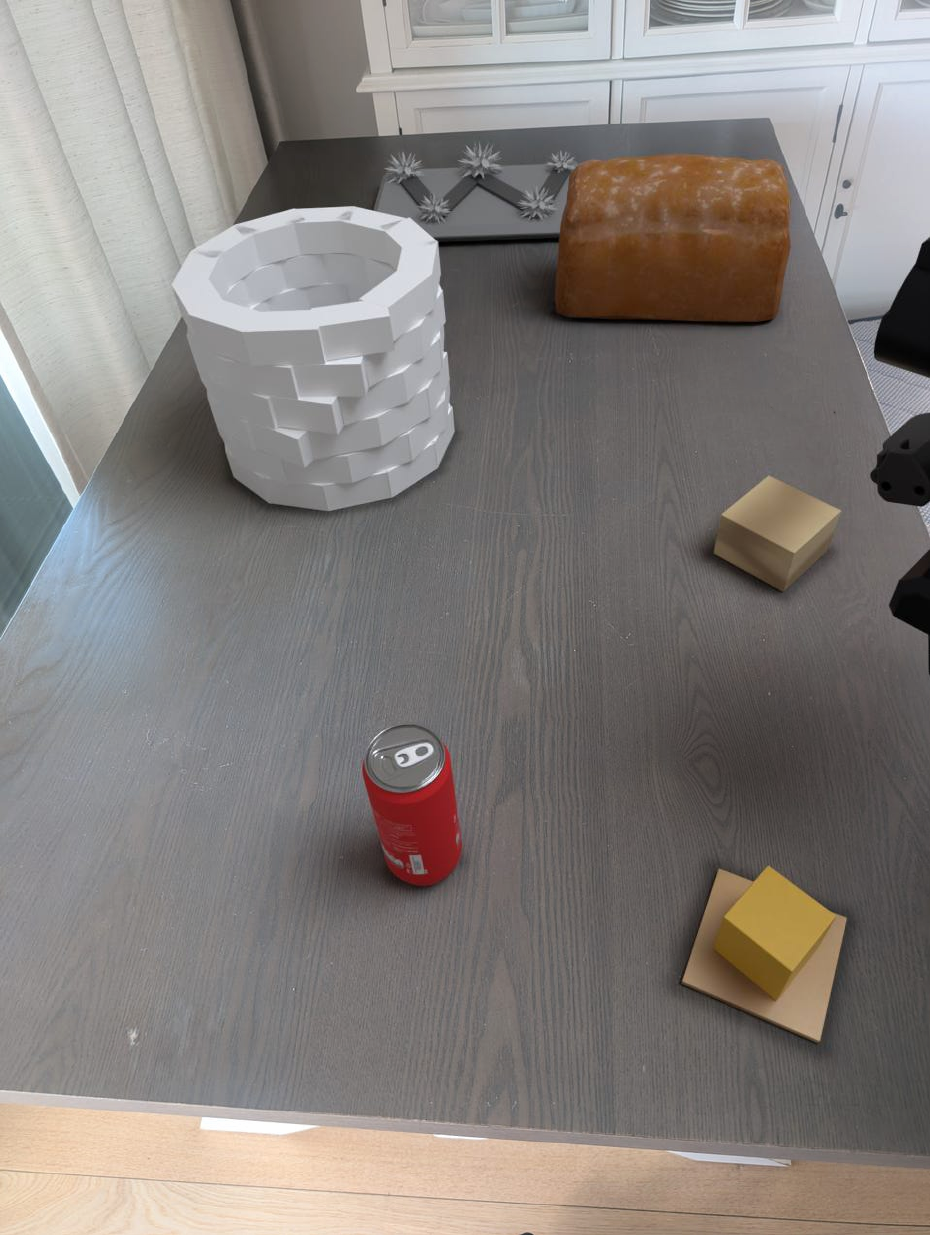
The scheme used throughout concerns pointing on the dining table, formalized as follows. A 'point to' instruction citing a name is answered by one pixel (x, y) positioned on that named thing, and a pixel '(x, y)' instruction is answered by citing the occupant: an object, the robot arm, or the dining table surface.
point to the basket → (322, 353)
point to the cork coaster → (723, 981)
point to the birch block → (776, 532)
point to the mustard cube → (772, 932)
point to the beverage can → (413, 803)
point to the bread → (674, 239)
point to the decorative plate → (479, 197)
